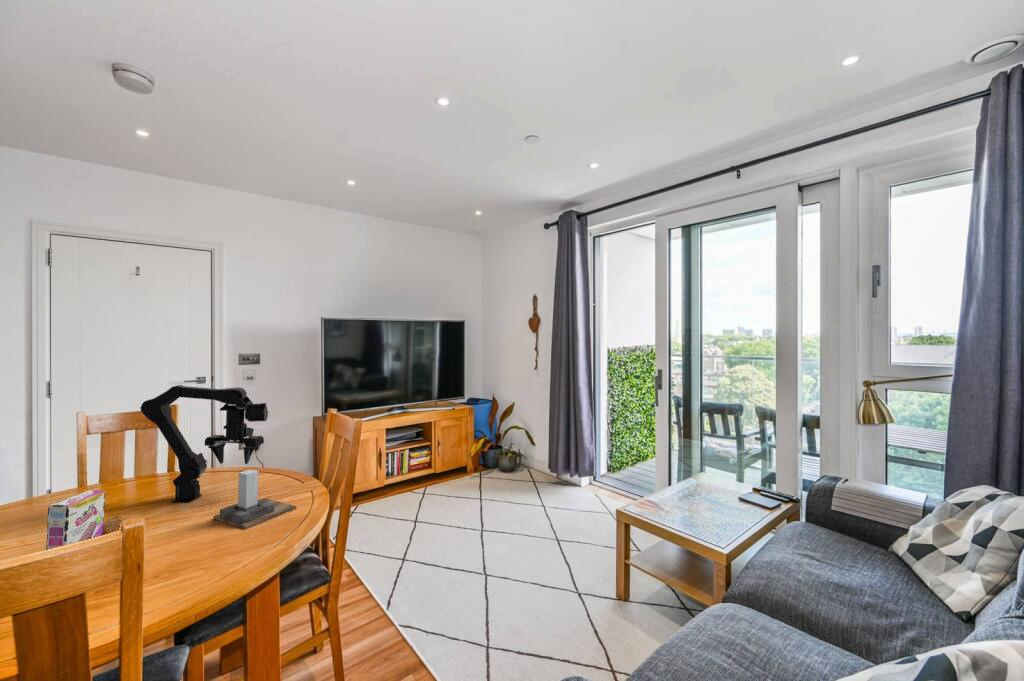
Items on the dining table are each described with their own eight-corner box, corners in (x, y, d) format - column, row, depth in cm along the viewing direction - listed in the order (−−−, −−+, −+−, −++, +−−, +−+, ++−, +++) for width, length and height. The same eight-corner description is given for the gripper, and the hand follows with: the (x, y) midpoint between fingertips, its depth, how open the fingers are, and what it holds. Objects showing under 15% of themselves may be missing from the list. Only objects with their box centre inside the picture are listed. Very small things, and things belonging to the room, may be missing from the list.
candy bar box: (65, 571, 107) (67, 505, 106) (44, 571, 106) (45, 505, 106) (104, 548, 118) (106, 489, 118) (85, 549, 117) (86, 489, 117)
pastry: (128, 536, 126) (129, 523, 126) (97, 542, 121) (97, 529, 121) (130, 524, 133) (130, 512, 133) (100, 530, 129) (101, 518, 129)
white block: (237, 515, 139) (238, 472, 139) (249, 510, 143) (250, 469, 143) (245, 517, 138) (246, 474, 138) (257, 513, 141) (258, 471, 141)
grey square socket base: (213, 519, 138) (213, 508, 138) (264, 500, 155) (265, 491, 155) (245, 529, 132) (245, 518, 132) (296, 509, 148) (296, 499, 148)
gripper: (272, 418, 166) (271, 458, 166) (224, 417, 166) (223, 457, 166) (255, 424, 155) (254, 466, 155) (204, 422, 155) (202, 465, 155)
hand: (234, 463), depth 158 cm, fingers open, 9 cm apart
